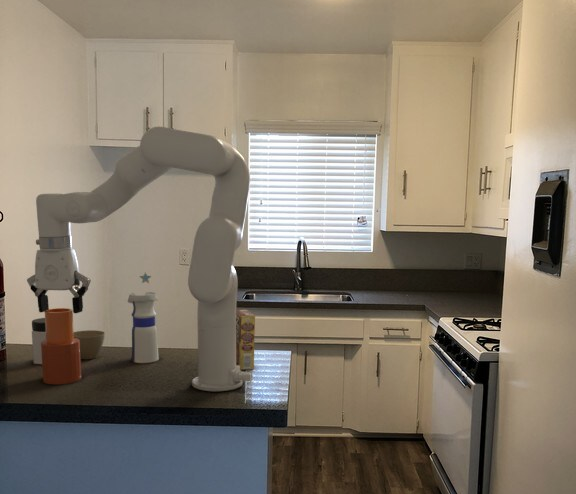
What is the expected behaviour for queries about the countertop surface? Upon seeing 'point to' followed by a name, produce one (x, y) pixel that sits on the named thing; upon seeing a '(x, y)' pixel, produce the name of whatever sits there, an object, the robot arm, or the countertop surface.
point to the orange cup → (59, 326)
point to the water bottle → (144, 326)
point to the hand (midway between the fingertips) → (60, 311)
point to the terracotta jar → (61, 362)
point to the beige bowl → (90, 343)
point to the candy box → (245, 339)
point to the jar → (38, 339)
